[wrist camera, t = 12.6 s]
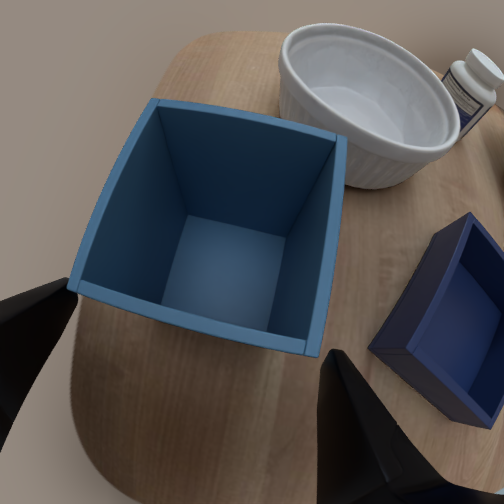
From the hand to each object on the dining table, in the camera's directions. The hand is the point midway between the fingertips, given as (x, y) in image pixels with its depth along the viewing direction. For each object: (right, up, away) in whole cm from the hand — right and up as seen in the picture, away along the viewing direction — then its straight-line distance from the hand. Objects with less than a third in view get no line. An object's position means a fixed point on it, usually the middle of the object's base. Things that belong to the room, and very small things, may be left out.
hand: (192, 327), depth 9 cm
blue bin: (0, +1, +8) cm, 9 cm away
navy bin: (+16, -3, +8) cm, 19 cm away
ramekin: (+10, +12, +13) cm, 20 cm away
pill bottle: (+22, +16, +15) cm, 31 cm away
